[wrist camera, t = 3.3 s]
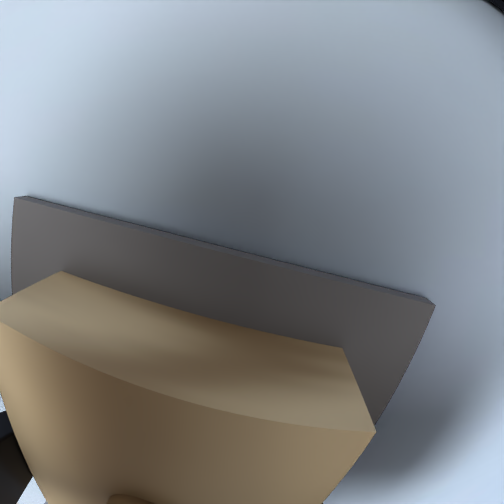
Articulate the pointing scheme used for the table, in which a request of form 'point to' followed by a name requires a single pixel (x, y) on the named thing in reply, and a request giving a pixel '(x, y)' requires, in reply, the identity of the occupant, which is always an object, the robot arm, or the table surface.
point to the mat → (226, 288)
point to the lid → (171, 402)
